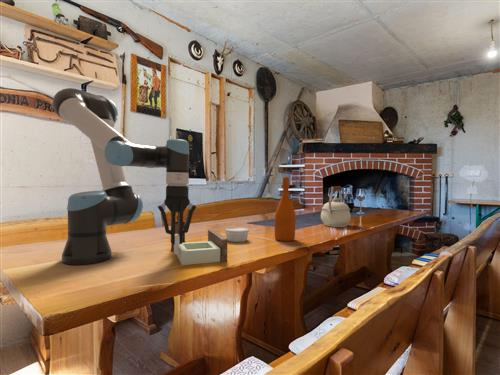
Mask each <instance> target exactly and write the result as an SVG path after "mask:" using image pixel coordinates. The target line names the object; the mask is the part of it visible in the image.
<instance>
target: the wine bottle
mask: <svg viewBox="0 0 500 375" xmlns="http://www.w3.org/2000/svg"><path fill="white" fill-rule="evenodd" d="M281 186H282V194H281V198H280V200H279V203H278V206H277V208H276V210H275V214H274V239H275V240H276V241H280V242H292V241H294V240H295V237H296V222H297V221H296V220H297V219H296V213H295V209H294V205H293V203H292V201H291V198H290V192H289V191H290V190H289V189H290V188H289V187H290V177H289V176H283V177H282V184H281Z"/></svg>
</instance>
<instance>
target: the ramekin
mask: <svg viewBox="0 0 500 375" xmlns="http://www.w3.org/2000/svg"><path fill="white" fill-rule="evenodd" d="M224 232H225V238H226V239H228V240H227V242H230V243H242V242H246V241H247V240H248V237H249V236H248V235H249V232H250V228H245V227H228V228H225V230H224Z"/></svg>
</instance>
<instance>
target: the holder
mask: <svg viewBox="0 0 500 375" xmlns="http://www.w3.org/2000/svg"><path fill="white" fill-rule="evenodd" d="M185 242H186V241H185ZM176 257H177V260H178V261H179V263H180V265H181V266H188V265H198V264H199V265H200V264H210V263H211V264H212V263H219V262H221V261H220V248H219V247H218V246H217V245H216V244H214V243H213V242H212V241H208V240H205V241H190V242H186V243H182V244H179V254H176Z"/></svg>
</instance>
